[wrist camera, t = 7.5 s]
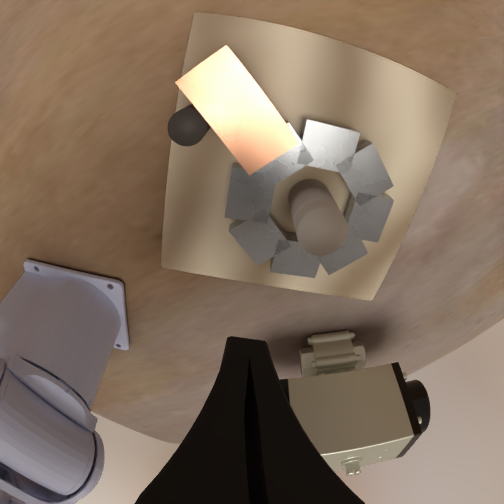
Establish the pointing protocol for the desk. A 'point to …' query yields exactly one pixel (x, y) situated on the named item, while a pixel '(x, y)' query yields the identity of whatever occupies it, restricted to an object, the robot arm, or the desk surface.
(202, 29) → the board
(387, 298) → the desk surface
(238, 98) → the segmented ring with bar
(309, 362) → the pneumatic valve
